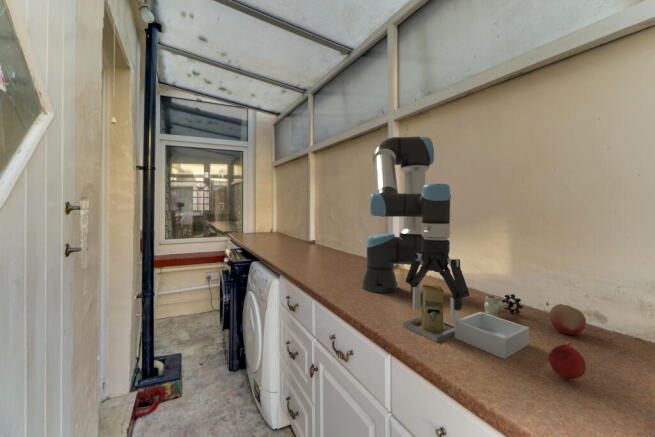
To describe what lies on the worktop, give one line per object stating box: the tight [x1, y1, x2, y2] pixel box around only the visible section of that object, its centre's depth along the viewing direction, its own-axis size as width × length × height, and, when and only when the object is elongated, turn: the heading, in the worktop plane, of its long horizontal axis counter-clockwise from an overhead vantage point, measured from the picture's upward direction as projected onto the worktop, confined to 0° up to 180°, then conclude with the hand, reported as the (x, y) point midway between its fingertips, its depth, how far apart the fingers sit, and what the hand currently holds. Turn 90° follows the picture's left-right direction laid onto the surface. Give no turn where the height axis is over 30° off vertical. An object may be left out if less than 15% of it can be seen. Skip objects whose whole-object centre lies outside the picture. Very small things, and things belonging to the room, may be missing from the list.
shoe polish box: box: [421, 284, 445, 334], centre depth 81 cm, size 5×5×12 cm
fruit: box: [548, 303, 587, 336], centre depth 80 cm, size 8×8×8 cm
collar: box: [402, 315, 455, 343], centre depth 82 cm, size 11×11×1 cm
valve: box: [483, 293, 524, 318], centre depth 92 cm, size 7×7×12 cm
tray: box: [454, 311, 530, 360], centre depth 75 cm, size 13×13×5 cm
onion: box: [548, 341, 587, 382], centre depth 58 cm, size 6×6×8 cm
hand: (434, 314), depth 81 cm, fingers open, 12 cm apart
